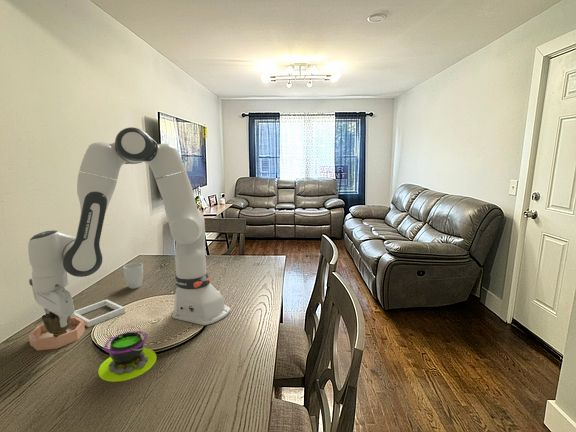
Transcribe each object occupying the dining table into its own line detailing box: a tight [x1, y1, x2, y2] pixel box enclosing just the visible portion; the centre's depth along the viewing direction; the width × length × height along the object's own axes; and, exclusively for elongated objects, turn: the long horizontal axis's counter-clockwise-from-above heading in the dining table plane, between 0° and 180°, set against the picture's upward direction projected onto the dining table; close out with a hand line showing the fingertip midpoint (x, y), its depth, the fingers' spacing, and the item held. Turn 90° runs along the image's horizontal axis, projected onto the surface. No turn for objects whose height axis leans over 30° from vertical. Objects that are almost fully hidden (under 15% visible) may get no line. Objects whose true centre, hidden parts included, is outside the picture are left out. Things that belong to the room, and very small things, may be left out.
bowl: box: [28, 316, 86, 351], centre depth 103 cm, size 14×14×4 cm
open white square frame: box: [70, 299, 126, 328], centre depth 118 cm, size 13×13×2 cm
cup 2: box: [41, 311, 71, 337], centre depth 102 cm, size 8×7×8 cm
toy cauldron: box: [97, 324, 157, 383], centre depth 89 cm, size 15×15×11 cm
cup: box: [122, 262, 144, 290], centre depth 144 cm, size 8×8×10 cm
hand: (56, 322), depth 102 cm, fingers open, 8 cm apart
